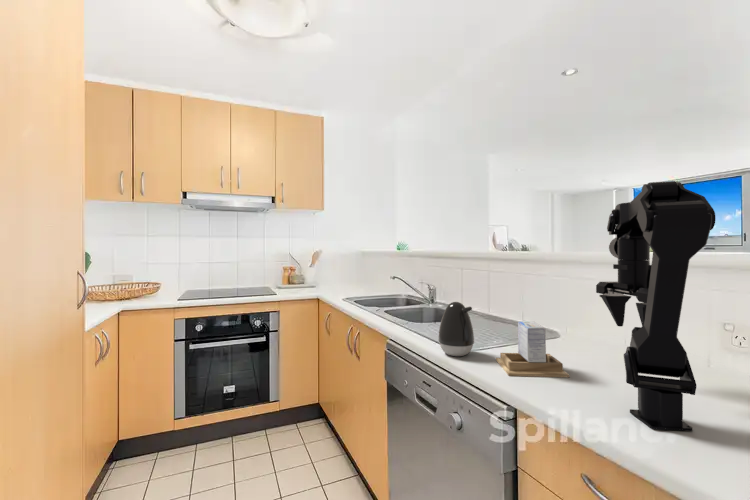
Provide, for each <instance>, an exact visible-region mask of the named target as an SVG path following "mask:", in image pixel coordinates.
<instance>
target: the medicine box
mask: <svg viewBox="0 0 750 500" xmlns="http://www.w3.org/2000/svg"><path fill="white" fill-rule="evenodd" d="M517 340H518V341H517V350H518V351H517V353H519V354H520V355H521V356H522V357H524V358H525V359H526V360H527V361H528V362H534V363H545V362H546V354H547V346H546V345H547V343H546V341H547V339H546V327H544V326H543V325H541V324H539V323H537V322H535V321H526V320H523V321H518V322H517Z"/></svg>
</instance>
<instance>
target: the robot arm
mask: <svg viewBox="0 0 750 500" xmlns="http://www.w3.org/2000/svg"><path fill="white" fill-rule="evenodd" d="M715 225H716V212H715V210H714V208H713V207H712V205H711V204H710V202H709V201H708V200H707V198H706V197H705V196H704V195H702V194H699V193H696V192H694V191H692V190H689V189H687V188H685V187H684V186H683V184H682V182H681V181H675V180H668V181H652V182H648V183H647V184H643V185H642V187H641V191H640V192H639V193H638V194H637V195H636V196H635V197H634V198H633V199H632V200H631V201H629V202H622V203H618V204H617V205H616V206H615V208H614V209H612V210H611V213H610V214H609V217H608V222H607V227H606V230H607V232H608V235H609V236H616V237H614V238H613V239H612V240H611V241H610V243H609V245H608V250H609V253H610V255H611V256H613V257H614V258H616V259H617V264H615V263H614V264H613V265H612V267H613V269H614V270H617V281H599V282H598V283H597V284H596V285H595V287H596V288H595V293H597V294H599V297H600V298H601V299H602V301H603V303H604V304H605V306H606V308H607V309H608V311H609V313H610V316H611V317H612V318H613V321H614V322H615V324H616V326H617V327H623V326H624V322H625V316H626V315H625V314H626V304H627V303H628V301H630V299H631V298H632V297H635V298H636V299H637V301H638V302H635V306H636V309H637V312H638V316H639V321H640V323H641V327H640V326H639V327H638V326H634V327H633V329H632V330H631V338H630V343H629V346H627V347H626V351H625V352H624V353H623V361H624V367H625V376H626V377H625V382H626V384H629V385H632V386H633V387H634V388H637V409H632V408H631V409H629V413H630V414H631V415H633V416H634V417H636V419H638V420H640V421H641V422H642V423H644V425H646V426H648V427H649V428H651V429H653V430H661V431H664V430H665V431H689V432H693V427H692V426H691V425H689V424H688V423H686V422H685V421H684V419H683V418H684V416H683V415H684V414H683V413H684V412H683V411H684V410H683V409H684V407H683V406H684V405H683V401H684V398H683V397H684V394H687V395H691V396H695V395H696V391H697V383H696V382H697V381H696V379H695V377H694V373H693V369H692V366H691V364H690V361H689V357H688V353H687V351H686V349H685V347H684V346H683V344H682V343H681V341H680V340H679V339H680V338H678V331H679V326H680V320H681V314H682V309H683V300H684V294H685V288H686V282H687V277H688V270H689V265H690V260H691V259H692V258H693V257H695V255H696V254H697V253H699V252H700V251H701V250H702V249H703V248H704V247H705V246H706V245H707V243H708V239H709V236H710V232H711V231H712V230H713V229H714V227H715ZM651 250H652V258H651V256H650V255H651V254H650V253H651V252H650V251H651ZM650 259H652V260H651V261H650ZM650 262H651V263H650ZM641 374H642V375H641ZM643 374H644V375H643ZM658 376H660V377H658ZM665 377H667V378H665ZM668 377H669V378H668ZM675 378H679V379H675Z"/></svg>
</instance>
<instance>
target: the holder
mask: <svg viewBox="0 0 750 500" xmlns="http://www.w3.org/2000/svg"><path fill="white" fill-rule="evenodd" d="M495 361H496V362H497V363H498V364H499V365H500V367H501V368H502V370H503V371H504V372H505V373H506V374H507V376H509V377H537V378H538V377H541V378H542V377H543V378H544V377H545V378H570V374H569V373H568V372H566V371H565V370H564V369H563V368H564V367H563V366H564V365H563V363H562V362H561V361H560V360H558V359H557V358H556V357H554V356H553V355H551V354H550V353H546V362H545V363H534V362H528V361H527V360H526V359H525V358H524V357H522V356H521V355H520V354H519V353H518V352H500V357H495Z"/></svg>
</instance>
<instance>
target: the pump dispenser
mask: <svg viewBox="0 0 750 500" xmlns="http://www.w3.org/2000/svg"><path fill="white" fill-rule="evenodd" d="M472 310H473V307H472V306H466V307H465V305H464V304H463V303H461V302H459V301H452V302H449V304H448V305H447V306H446V308H445V309H444V312H443V315H442V317H441V320H440V325H439V331H438V335H437V337H438V343H439V345H440V348H441V350H442V352H444V353H445V354H446V355H448V356H451V357H463V356H466V355H468V354H469V353H471V351H472V349H473V346H474V344H475V336H474V335H475V334H474V327H473V324H472V319H471V317H470V314H469V312H470V311H472Z"/></svg>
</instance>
